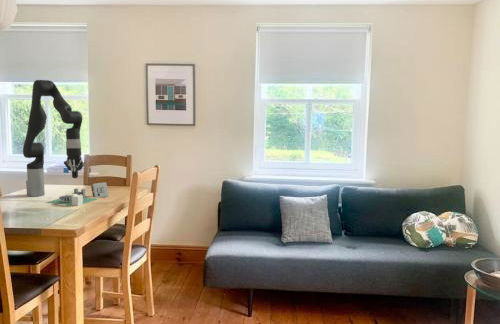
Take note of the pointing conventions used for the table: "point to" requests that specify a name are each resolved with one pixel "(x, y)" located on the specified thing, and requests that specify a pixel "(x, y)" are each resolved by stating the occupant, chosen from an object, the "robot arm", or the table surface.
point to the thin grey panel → (69, 196)
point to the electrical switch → (99, 190)
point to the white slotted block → (67, 200)
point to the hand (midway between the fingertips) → (75, 178)
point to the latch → (76, 199)
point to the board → (71, 203)
